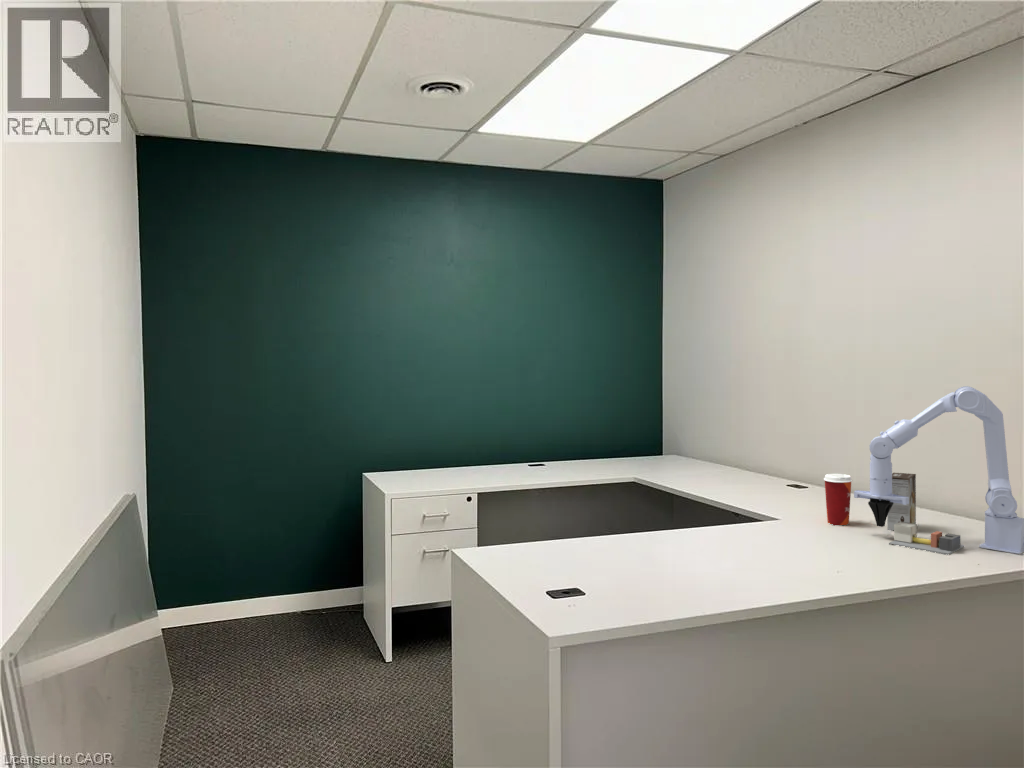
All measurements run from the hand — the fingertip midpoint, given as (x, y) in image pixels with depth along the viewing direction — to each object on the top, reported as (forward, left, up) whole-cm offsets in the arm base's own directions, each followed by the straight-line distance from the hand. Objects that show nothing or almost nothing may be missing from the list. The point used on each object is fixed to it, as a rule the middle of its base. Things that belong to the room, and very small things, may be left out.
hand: (880, 525), depth 212 cm
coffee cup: (+16, -8, -4) cm, 19 cm away
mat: (-12, 0, -3) cm, 13 cm away
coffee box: (0, -15, -4) cm, 15 cm away
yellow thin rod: (-11, 0, -3) cm, 11 cm away
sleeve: (-7, 0, -3) cm, 8 cm away
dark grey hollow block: (-18, 0, -3) cm, 18 cm away
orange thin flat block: (-15, 0, -3) cm, 15 cm away
